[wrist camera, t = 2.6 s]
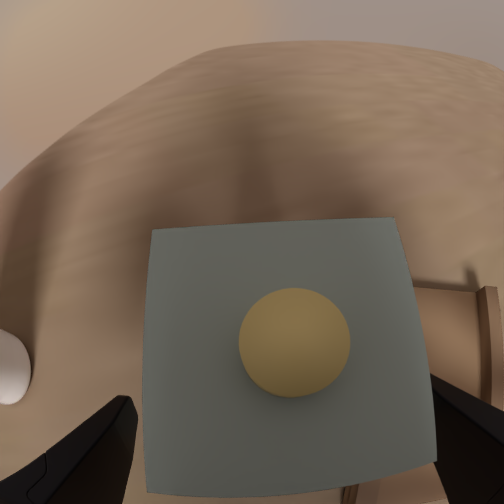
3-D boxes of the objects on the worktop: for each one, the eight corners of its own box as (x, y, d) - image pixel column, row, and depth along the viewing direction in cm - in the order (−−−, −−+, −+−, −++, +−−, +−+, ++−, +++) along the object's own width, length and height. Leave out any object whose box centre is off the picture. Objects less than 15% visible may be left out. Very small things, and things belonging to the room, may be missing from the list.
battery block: (315, 427, 15) (460, 464, 3) (225, 434, 15) (129, 503, 3) (308, 343, 18) (406, 194, 6) (221, 349, 18) (140, 206, 5)
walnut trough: (476, 486, 12) (493, 490, 10) (341, 508, 13) (350, 518, 11) (482, 297, 18) (497, 287, 17) (362, 286, 19) (372, 274, 17)
